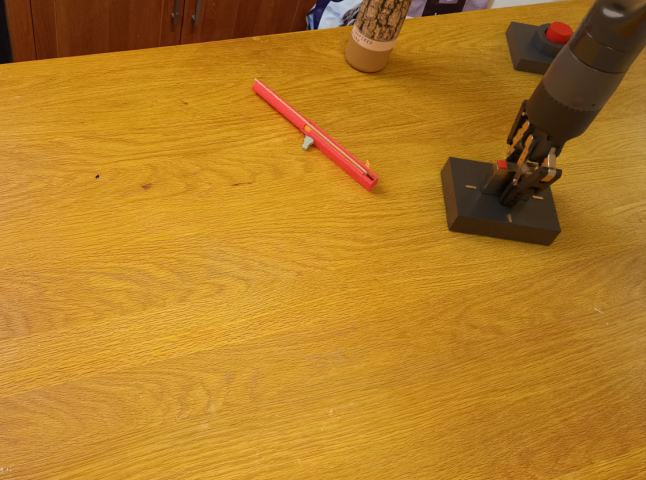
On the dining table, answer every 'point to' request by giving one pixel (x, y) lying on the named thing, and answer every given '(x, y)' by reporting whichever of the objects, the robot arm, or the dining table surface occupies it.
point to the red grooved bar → (319, 138)
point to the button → (559, 32)
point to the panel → (495, 207)
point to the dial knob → (501, 178)
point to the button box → (531, 47)
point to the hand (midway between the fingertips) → (504, 191)
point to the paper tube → (375, 33)
